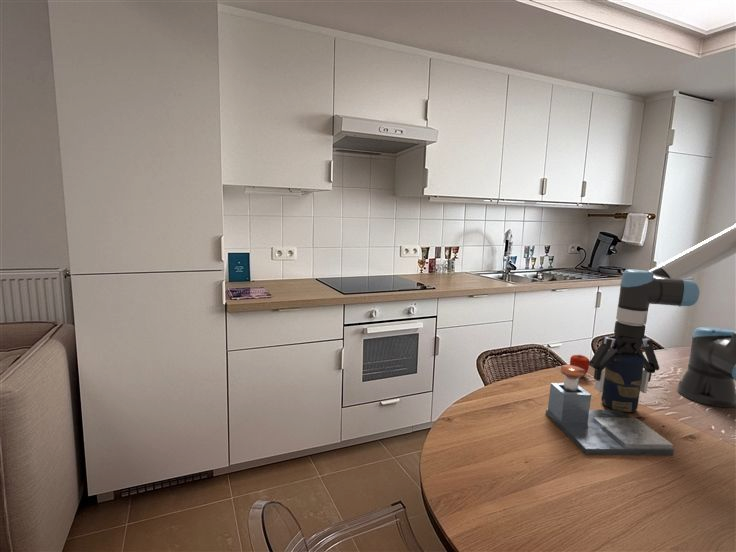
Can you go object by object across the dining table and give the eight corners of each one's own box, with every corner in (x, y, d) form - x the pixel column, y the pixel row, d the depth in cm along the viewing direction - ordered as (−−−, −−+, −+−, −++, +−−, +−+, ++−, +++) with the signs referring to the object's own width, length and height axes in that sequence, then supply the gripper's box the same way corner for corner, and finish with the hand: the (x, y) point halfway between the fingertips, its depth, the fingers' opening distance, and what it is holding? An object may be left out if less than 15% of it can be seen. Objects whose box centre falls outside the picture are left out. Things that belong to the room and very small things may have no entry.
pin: (573, 394, 117) (577, 365, 116) (585, 404, 111) (589, 373, 110) (553, 394, 117) (556, 364, 115) (564, 403, 111) (568, 373, 109)
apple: (570, 371, 153) (572, 351, 152) (588, 375, 149) (591, 355, 148) (566, 376, 148) (569, 356, 147) (586, 380, 144) (588, 360, 143)
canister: (642, 416, 119) (651, 357, 116) (606, 412, 121) (615, 353, 118) (629, 402, 129) (637, 346, 126) (596, 398, 130) (603, 343, 128)
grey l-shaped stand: (619, 414, 120) (623, 383, 118) (673, 455, 100) (679, 418, 99) (545, 413, 119) (549, 382, 117) (585, 454, 99) (590, 417, 97)
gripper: (661, 320, 125) (650, 386, 128) (582, 317, 124) (573, 384, 127) (681, 327, 118) (669, 397, 121) (596, 324, 116) (587, 395, 120)
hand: (620, 390), depth 124 cm, fingers open, 13 cm apart
